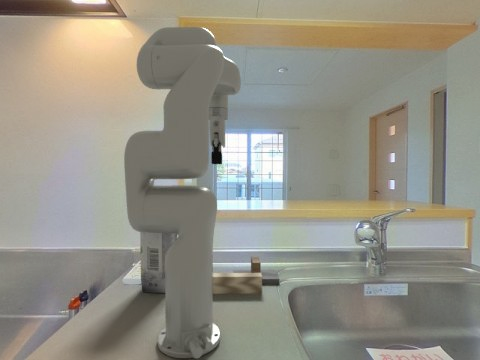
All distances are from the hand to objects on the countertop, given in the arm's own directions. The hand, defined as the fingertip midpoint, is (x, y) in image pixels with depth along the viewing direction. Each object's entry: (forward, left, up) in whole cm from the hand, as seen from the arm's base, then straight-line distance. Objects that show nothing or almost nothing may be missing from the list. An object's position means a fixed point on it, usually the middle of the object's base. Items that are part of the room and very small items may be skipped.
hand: (217, 164), depth 104 cm
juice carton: (-9, +22, -37) cm, 44 cm away
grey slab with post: (-16, -7, -37) cm, 40 cm away
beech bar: (-20, +5, -37) cm, 42 cm away
